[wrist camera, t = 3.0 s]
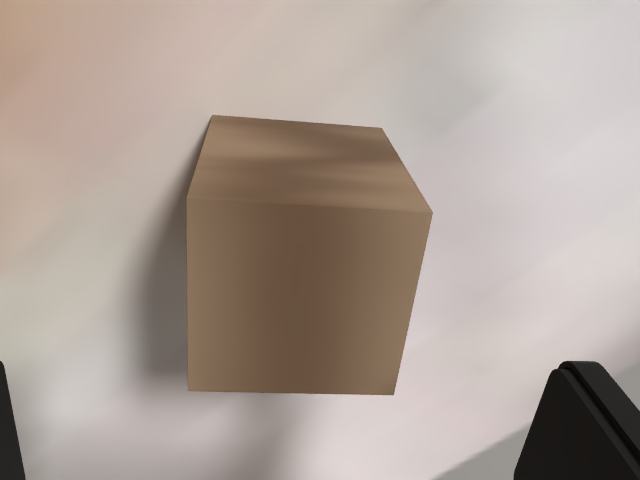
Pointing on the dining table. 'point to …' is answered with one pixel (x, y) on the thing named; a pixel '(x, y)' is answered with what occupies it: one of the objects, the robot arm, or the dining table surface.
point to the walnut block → (300, 258)
